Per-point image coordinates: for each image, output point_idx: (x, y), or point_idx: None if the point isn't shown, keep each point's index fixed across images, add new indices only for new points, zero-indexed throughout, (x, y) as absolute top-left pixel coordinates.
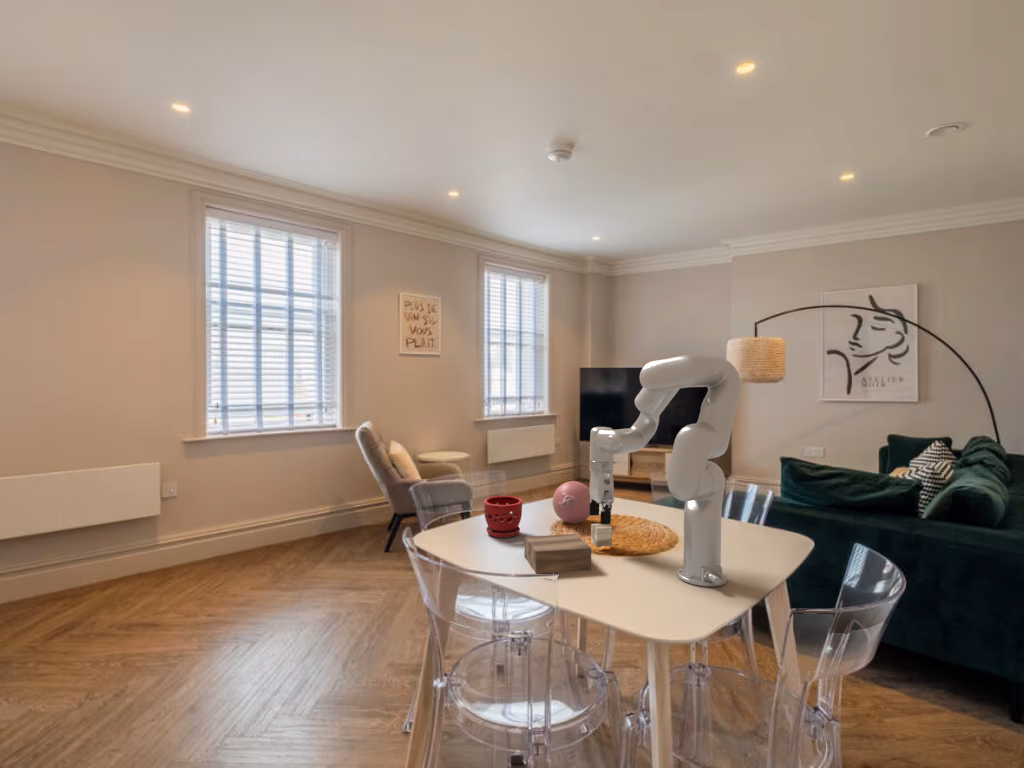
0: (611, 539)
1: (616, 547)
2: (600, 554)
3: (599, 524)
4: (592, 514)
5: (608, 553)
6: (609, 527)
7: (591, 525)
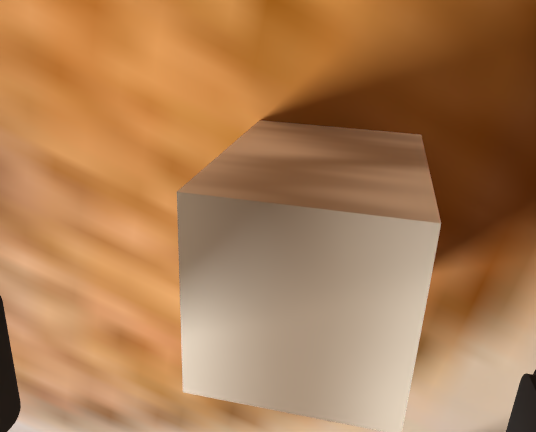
0: (426, 167)
1: (371, 49)
2: (513, 300)
3: (222, 310)
4: (8, 396)
5: (519, 221)
6: (423, 258)
7: (198, 382)
